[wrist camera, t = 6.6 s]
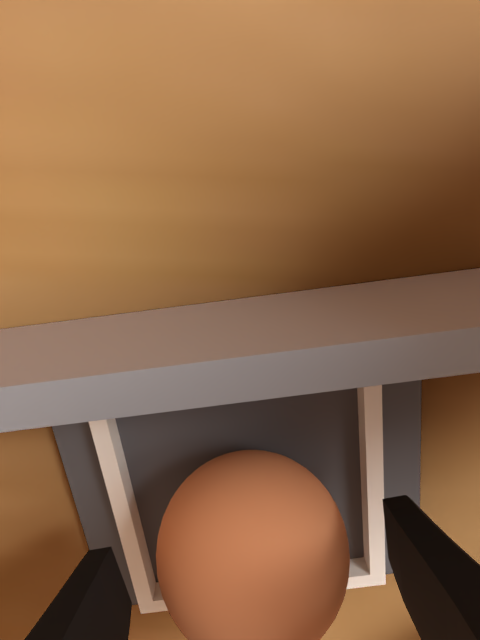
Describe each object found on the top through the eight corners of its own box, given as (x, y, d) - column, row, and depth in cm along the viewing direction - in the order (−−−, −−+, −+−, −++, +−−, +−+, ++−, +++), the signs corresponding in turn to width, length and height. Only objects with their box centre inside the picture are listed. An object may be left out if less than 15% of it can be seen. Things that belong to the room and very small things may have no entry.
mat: (416, 326, 13) (433, 340, 12) (414, 560, 16) (427, 588, 15) (42, 373, 13) (27, 391, 12) (109, 597, 16) (101, 627, 15)
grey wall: (506, 264, 12) (629, 307, 9) (503, 298, 13) (620, 354, 9) (-59, 336, 13) (-181, 410, 9) (-47, 368, 13) (-160, 453, 9)
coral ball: (314, 401, 13) (366, 532, 8) (334, 530, 15) (386, 700, 10) (150, 432, 13) (110, 578, 9) (187, 557, 15) (172, 737, 10)
